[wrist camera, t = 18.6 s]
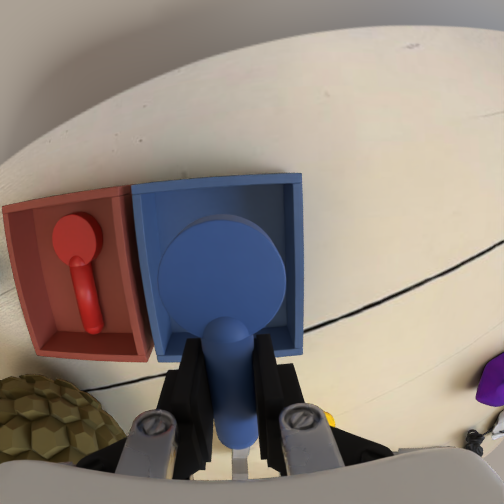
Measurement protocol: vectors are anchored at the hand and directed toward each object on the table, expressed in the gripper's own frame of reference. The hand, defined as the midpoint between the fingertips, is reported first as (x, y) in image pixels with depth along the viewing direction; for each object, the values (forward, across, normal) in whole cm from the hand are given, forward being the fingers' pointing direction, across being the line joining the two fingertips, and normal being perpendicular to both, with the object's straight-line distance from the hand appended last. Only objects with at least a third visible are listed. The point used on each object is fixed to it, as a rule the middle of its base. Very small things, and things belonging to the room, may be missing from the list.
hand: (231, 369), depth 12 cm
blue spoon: (0, 0, -1) cm, 1 cm away
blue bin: (+12, +1, -1) cm, 12 cm away
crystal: (+12, -33, +15) cm, 39 cm away
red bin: (+12, +12, -1) cm, 17 cm away
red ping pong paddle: (+12, +12, -1) cm, 16 cm away
